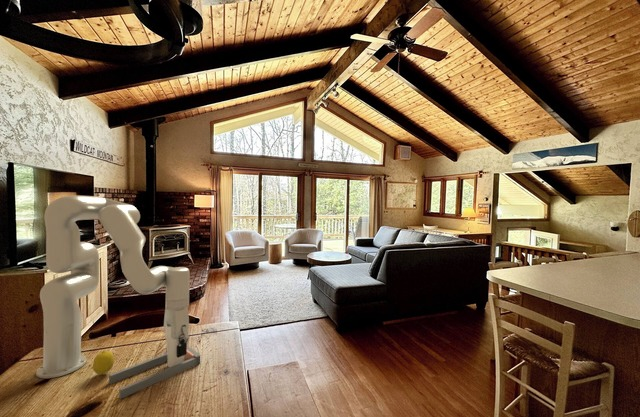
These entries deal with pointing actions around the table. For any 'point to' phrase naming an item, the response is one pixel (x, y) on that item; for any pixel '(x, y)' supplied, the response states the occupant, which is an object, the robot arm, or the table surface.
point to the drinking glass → (172, 349)
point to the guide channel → (191, 361)
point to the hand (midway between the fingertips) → (176, 351)
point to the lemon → (103, 362)
